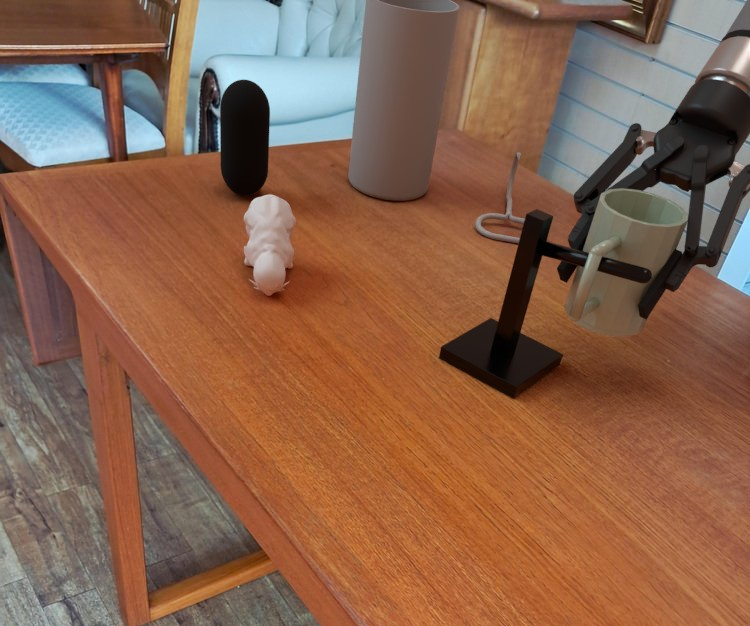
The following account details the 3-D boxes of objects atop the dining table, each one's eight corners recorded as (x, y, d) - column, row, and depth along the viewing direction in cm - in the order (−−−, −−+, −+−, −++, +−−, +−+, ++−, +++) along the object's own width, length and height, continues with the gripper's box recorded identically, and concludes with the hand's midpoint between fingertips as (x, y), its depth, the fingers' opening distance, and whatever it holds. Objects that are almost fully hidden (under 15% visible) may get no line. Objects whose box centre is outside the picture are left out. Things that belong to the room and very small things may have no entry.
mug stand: (438, 358, 88) (469, 208, 76) (488, 328, 94) (524, 186, 82) (575, 432, 80) (632, 279, 69) (619, 395, 87) (678, 249, 75)
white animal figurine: (297, 190, 95) (300, 244, 87) (293, 253, 101) (295, 309, 93) (244, 185, 94) (241, 239, 86) (243, 250, 100) (241, 305, 92)
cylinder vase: (331, 177, 122) (347, -11, 105) (389, 165, 129) (413, -14, 112) (386, 208, 116) (412, 14, 99) (443, 194, 123) (478, 9, 106)
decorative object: (259, 183, 117) (261, 73, 107) (273, 202, 113) (277, 88, 102) (215, 185, 114) (214, 72, 104) (228, 204, 110) (228, 88, 100)
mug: (588, 287, 89) (624, 181, 81) (657, 319, 86) (701, 212, 78) (527, 326, 81) (560, 212, 73) (600, 362, 78) (644, 247, 70)
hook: (538, 191, 127) (533, 262, 114) (480, 181, 127) (469, 251, 115) (550, 147, 121) (547, 217, 109) (490, 136, 122) (480, 204, 109)
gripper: (824, 159, 78) (697, 352, 79) (632, 94, 87) (520, 269, 88) (837, 111, 72) (698, 323, 73) (628, 46, 80) (506, 236, 81)
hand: (601, 293), depth 80 cm, fingers closed on mug, 9 cm apart
